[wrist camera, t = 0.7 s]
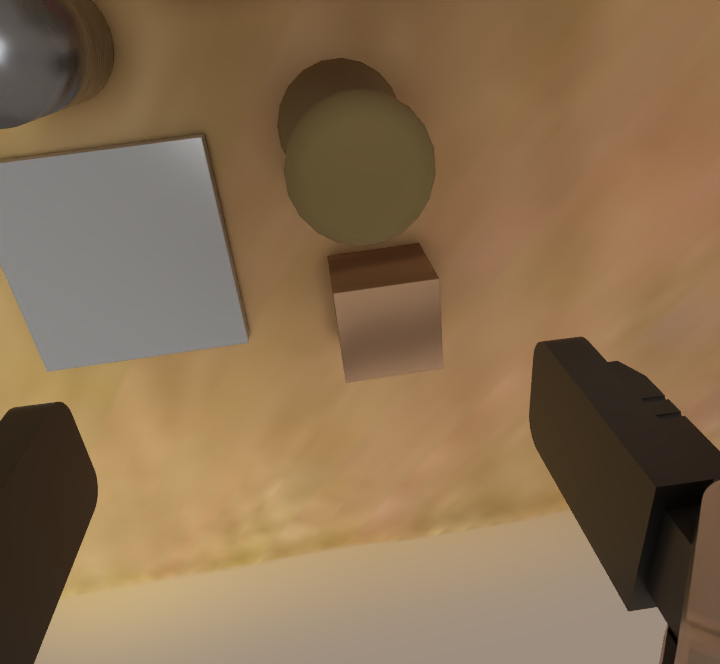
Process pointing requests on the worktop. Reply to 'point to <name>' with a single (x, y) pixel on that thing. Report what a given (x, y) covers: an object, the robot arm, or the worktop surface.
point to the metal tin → (50, 57)
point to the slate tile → (119, 252)
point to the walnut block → (387, 312)
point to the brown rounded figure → (353, 153)
